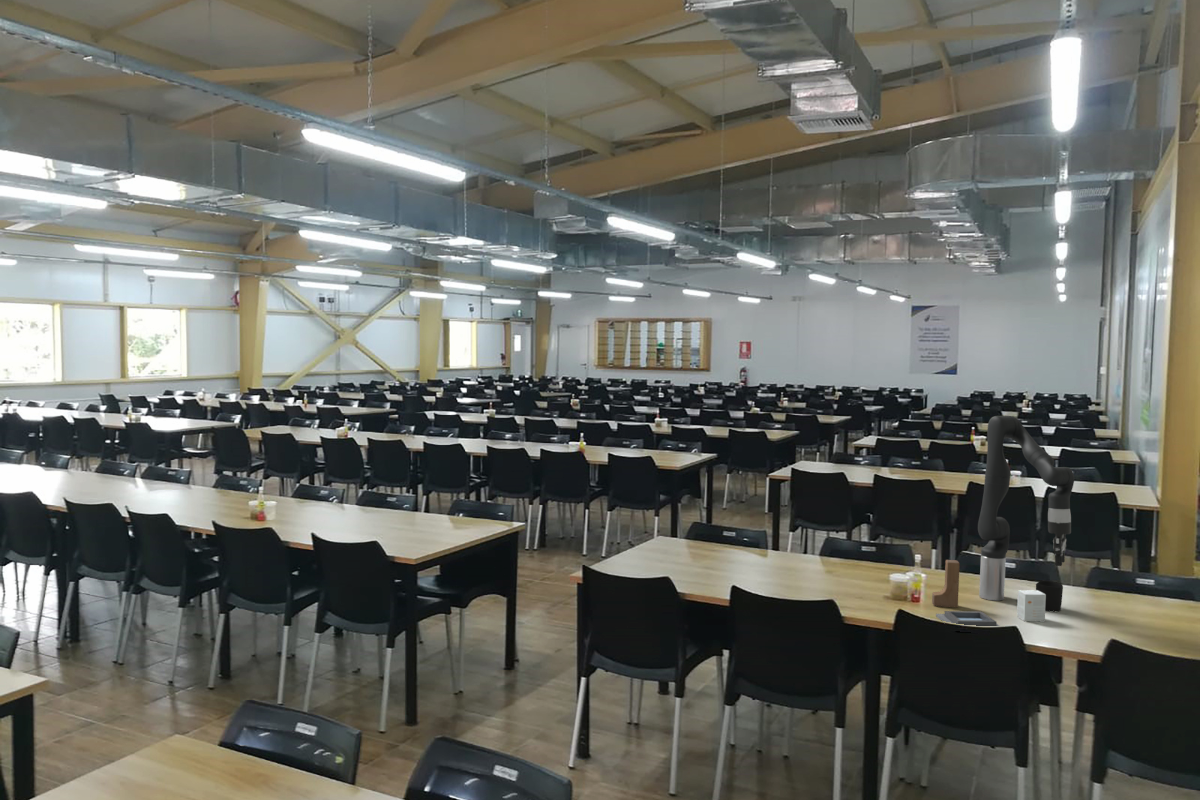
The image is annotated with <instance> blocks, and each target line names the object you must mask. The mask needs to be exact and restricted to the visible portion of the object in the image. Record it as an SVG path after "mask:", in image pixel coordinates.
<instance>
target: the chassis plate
mask: <svg viewBox="0 0 1200 800" xmlns="http://www.w3.org/2000/svg"><path fill="white" fill-rule="evenodd" d="M935 617H936V618H937V619H939V620H940V621H941V620H942V621H946V622H951V623H956V624H964V625H976V626H1000V625H999V624H998V623H997V620H995V619H993V618H992V617H991V616H989V615H988V614H986V613H984V612H983V611H975V610H974V611H968V610H967V611H965V610H964V611H963V610H962V611H961V610H944V613H935ZM942 621H941V622H942Z"/></svg>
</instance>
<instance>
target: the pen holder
mask: <svg viewBox="0 0 1200 800" xmlns="http://www.w3.org/2000/svg"><path fill="white" fill-rule="evenodd" d="M1035 590H1038V591H1040V592H1042V593H1044V594H1046V603H1045V612H1050V611H1053V612H1052V613H1054V612H1055V611H1058V612H1060V611H1061V609H1062V603H1063V591H1064V586H1063V584H1062V583H1060V582H1056V581H1052V580H1039V581H1038V582H1037V583H1035ZM1055 613H1056V612H1055Z"/></svg>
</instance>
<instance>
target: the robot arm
mask: <svg viewBox="0 0 1200 800" xmlns="http://www.w3.org/2000/svg"><path fill="white" fill-rule="evenodd" d="M986 435H987V437H986V438H987V439H986V440H987V452H986V464H985V465H986V466H985V467H986V468H985V475H984V486H983V494H982V495H983V496H982V503H981V507H980V508H981V509H980V513H979V518H978V522H977V531H978V535H979V537H980V538H981V539H982V540H983V541H988V542H987V544H986V545H985V546H983V547H981V549H980V571H979V572H980V573H979V591H978V592H979V593H978V596H979V597H980V598H981V599H985V600H989V601H1003V600H1004V599H1005V583H1006V563H1007V562H1006V560H1007V559H1006V557H1007V553H1008V550H1009V544H1010V536H1011V535H1010V534H1011V533H1010V532H1011V530H1010V524H1009V522H1008V521H1007V519H1005V518H1004V517H1002V516H998V510H999V507H1000V505H1001V503H1002V501H1003V500H1004V498H1005V497H1006V495H1007V494H1008V492H1009V488H1010V483H1011V482H1010V481H1011V469H1010V465H1009V463H1008V461H1007V458H1006V457H1005V454H1004V441H1005V439H1011V440H1013V441H1015V442H1016V443H1017V444H1018V445H1019V447H1021V450H1022V454H1023V456H1024V458H1025V459H1026V461H1027V462H1028V463H1029V464H1031V466H1033V468H1035V469H1036V470H1037V472H1038V474H1039V476H1040V477H1041V479H1042V481H1044V483H1045V484H1047V485H1049V486H1051V487H1056V488H1055V490H1054V491H1052V492H1050V493H1049V494H1048V511H1047V531H1048V533H1049V534H1052V535H1054V536H1055V537H1053V538H1052V539H1053V540H1052V542H1053V545H1052V546H1053V554H1054V556H1055V557H1054V561H1055V562H1054V565H1055V566H1056V567H1062V566H1063V563H1065V562H1066V559H1065V558H1066V557H1065V552H1066V550H1067V538H1066V535H1070V534H1071V533H1072V515H1071V513H1072V512H1071V502H1070V501H1071V499H1070V498H1071V496H1072V491H1073V488H1074V484H1075V475H1074V472H1073V469H1071V468H1069V467H1068V466H1054V464H1055V459H1054V458H1053V457H1052V456H1051V455H1050V454H1049V453H1048V452H1047V451H1046V450H1045V449H1043V447H1041V446H1040V445H1039V444H1038V442H1036V441H1035V440H1034V438H1033V437H1032V436H1031V434H1030V433H1029V432H1028V430H1027V429H1026V427H1025V426H1024V425H1023V424H1022V423H1021V422H1020V421H1019V419H1018V418H1017V417H1015V416H1014V415H995V416H992V417H991V418H990V419H989V421H988V423H987V433H986Z"/></svg>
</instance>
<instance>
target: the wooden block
mask: <svg viewBox="0 0 1200 800" xmlns="http://www.w3.org/2000/svg"><path fill="white" fill-rule="evenodd" d="M960 565H961V564H960V562H959V561H958V560H957V559H956V560H955V559H954V560H953V559H945V566H944V567H945V568H944V586H943V588H942V589H941V590H940V591H933V592H932V593H931V594H932V596H931V597H932V598H931V604H932V605H933V606H934V607H940V608H956V609H958V608H959V585H960Z"/></svg>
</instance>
